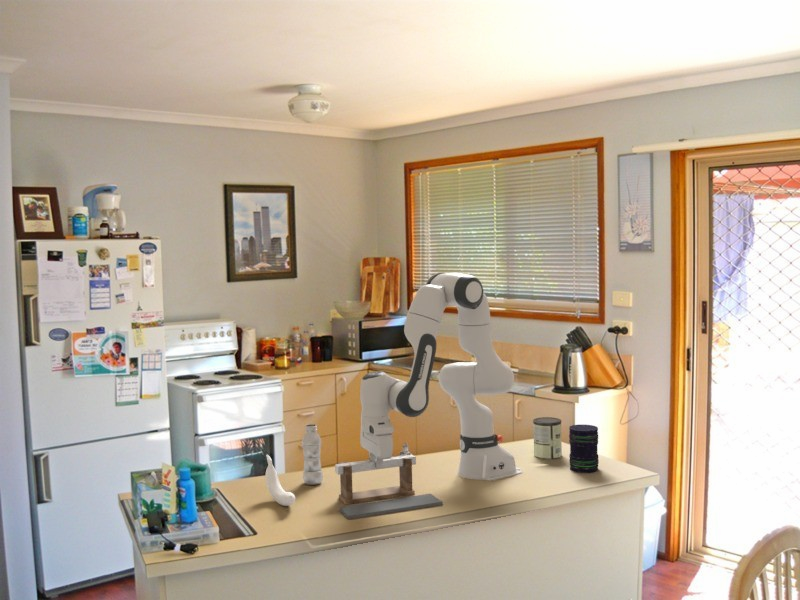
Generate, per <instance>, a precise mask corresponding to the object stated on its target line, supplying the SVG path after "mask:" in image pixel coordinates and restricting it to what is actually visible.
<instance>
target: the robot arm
mask: <svg viewBox="0 0 800 600" xmlns="http://www.w3.org/2000/svg"><path fill="white" fill-rule="evenodd" d="M447 307H456V309H457V331H458V332H457V334H458V335H457V336H458V337H457V338H458V345H459V346H460V348H461V350H463V351H464V352H467V353H468V354H470V355H472V356H473V357H474V358H475V359H476V362H474V361H473V362H470V361H469V362H467V361H466V362H462V361H459V362H453V363H452V362H451V363H447V364H444V365H443V366H442V367H441V369H440V371H439V373H438V384H439V386H440V387H441V389H442V391H444V393H446V394H447V395H448V396H450V397H451V399H452V400H453V401H454V403H455V404H456V407H457V410H458V412H459V418H460V419H459V420H460V421H459V422H460V434H459V451H460V458H459V464H458V465H459V466H458V470H457V476H459V477H462V478H464V479H469V480H481V481H488V482H490V481H494V480H500V479H505V478H508V477H513V476H517V475H520V474H523V470H522V469H521V468H520V467H519V466H516V465H517V464H516V461H515V457H514V455H513V454H512V453H511V452H510V451H508V450H507V449H506V448H504V447H503V446H501V445H500V444H499V442H500V443H502V442H503V441H504V439H505V437H504V436H503V435H501V434H496V433H494V413H493V411H492V410H491V408H489V407H488V406H487V405H485V404H483V403H480V402H479V401H478V400H477V398H476V396H475V395H477V396H478V395H479V396H480V395H481V396H483V395H484V396H487V395H488V396H490V395H491V396H497V395H502V394H506V393H507V394H508V393H509V392H510V391H511V390H512V389H513V386H514V383H515V373H514V371H513V370H512V368H511V367H510V365H508V363H506V362H504V361H503V360H502V359H501V358H500V356H499V355H498V354H497V352H496V350H495V347H494V345H493V338H492V328H491V327H492V326H491V324H492V322H491V311H490V310H491V309H490V305H489V300H488V297H487V295H486V293H484V287H483V284H482V282H481V280H480V279H479V278H478V277H476V276H474V275H471V274H465V273H460V272H438V273H435V274H433V275H431V276H430V277H429V278H428V280H427V281H426V283H425V284H424V285H421V286H420V287H419V288H418V290H417V291H416V293H415V295H414V297H413V299H412V301H411V304H410V306H409V309H408V312H407V314H406V318H405V322H404V327H403V332H404V333H403V334H404V335H405V338H406V339H407V341H408V342H409V344H411V346H412V348H413V353H414V354H413V355H414V357H413V362H412V365H411V370H410V375H409V379H408V381H405V380H402V379H398V378H395V377H392V375H391V376H390V375H389V374H387V373H386V372H385V371H383V370H382V371H380V370H378V371H377V370H376V371H371V372H368V373H365V375H364V376H362V379H361V382H360V389H359V390H360V391H359V392H360V394H359V395H360V397H359V398H360V399H359V400H360V404H361V412H360V436H359V437H360V447H362V448H363V449H365V450H366V451H368V456H369V460H373V459H376V463H375V468H376V469H377V470H383V469H382V462H383V460H384V459H391V457H393V452H394V439H393V437H394V436H393V434H394V433H395V428H394V425H393V424H392V422H391V420H390V411H392V410H394V411H396V412H398V413H400V414H402V415H404V416H406V417H407V418H415V417H416V418H417V417H419V416H421V415H422V414H423V413H424V412H425V411H426V410H427V408H428V405H429V400H430V396H429V395H430V394H429V389H430V388H429V386H430V381H431V375H432V372H433V367H434V362H435V358H436V352H437V338H438V333H439V330H440V326H441V323H442V319H443V316H444V311H445V309H446V308H447Z"/></svg>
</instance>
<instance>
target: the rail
mask: <svg viewBox="0 0 800 600" xmlns="http://www.w3.org/2000/svg"><path fill="white" fill-rule="evenodd" d="M405 458H412V466H414V465H417V460H416V459H417V456H415V455H413V454H412V455H405V456H399V455H398V456H392V457H391V459H384V460H383V462H382V469H381V470H383V469H389V468H391V469H392V468H399V467H400V466H405ZM375 463H376V459H373V460H370V459H368V460H358V461H351V462H347V463H341V464H340V463H335V464H334V468H335V471H334V472H335V474H337V475H340V474H345V466H349V465H351V466H352V474H353V473H360V472H369V471H375V470H376V471H377V470H378V469H376V468H375Z"/></svg>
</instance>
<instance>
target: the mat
mask: <svg viewBox="0 0 800 600" xmlns="http://www.w3.org/2000/svg"><path fill="white" fill-rule="evenodd" d="M443 503H444V502H443V500H440V499H439V498H438V497H436V496H434V494H432V493H426V494H419V495H410V496H406V497H405V496H403V497H396V498H390V499H385V500H384V499H383V500H376V501H369V502H365V503H364V502H363V503H356V504H349V505H343V506H339V507H338V511H339V512H341V514H342V515H343V516H344V517H345V518H346V519H347V520H355V519H359V518H365V517H366V518H368V517H372V516H379V515H386V514H393V513H398V512H399V513H400V512H405V511H412V510H420V509H423V508H424V509H425V508H431V507H432V508H433V507H437V506H443Z"/></svg>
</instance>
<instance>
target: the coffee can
mask: <svg viewBox="0 0 800 600" xmlns="http://www.w3.org/2000/svg"><path fill="white" fill-rule="evenodd" d="M532 423H533V456H534V458H537V459H540V460H541V459H542V460H549V461H550V460H557V459H561V458H562V457H563V455H562V454H563V453H562V451H563V450H562V419H560V418H558V417H554V416H553V417H549V416H543V417H535V418H533V420H532Z"/></svg>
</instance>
